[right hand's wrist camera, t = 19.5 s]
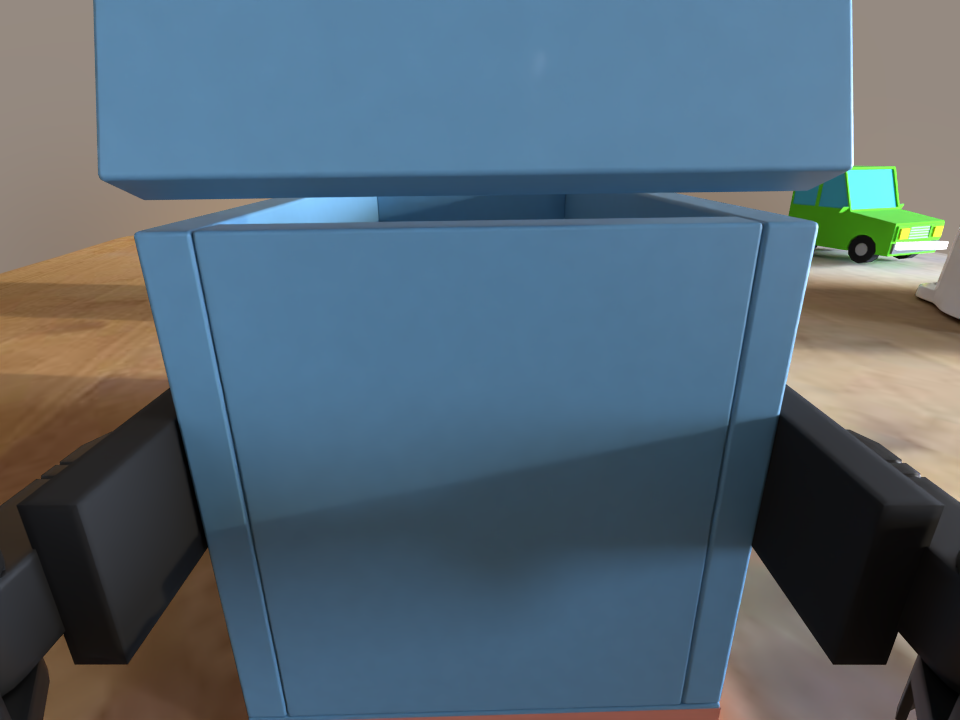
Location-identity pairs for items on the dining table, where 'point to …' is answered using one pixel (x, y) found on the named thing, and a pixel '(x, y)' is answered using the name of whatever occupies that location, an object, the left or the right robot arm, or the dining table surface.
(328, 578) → the chest
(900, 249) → the left robot arm
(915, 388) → the dining table surface
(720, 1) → the lid
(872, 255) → the toy car
